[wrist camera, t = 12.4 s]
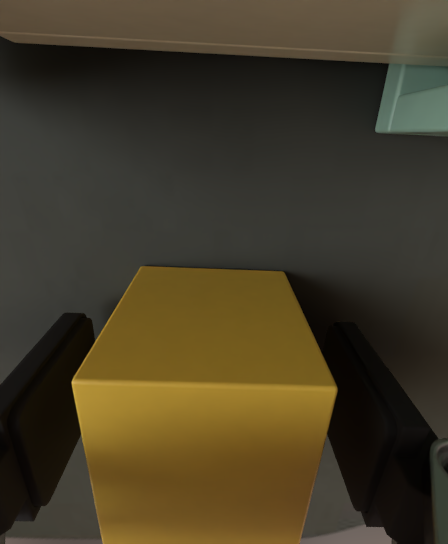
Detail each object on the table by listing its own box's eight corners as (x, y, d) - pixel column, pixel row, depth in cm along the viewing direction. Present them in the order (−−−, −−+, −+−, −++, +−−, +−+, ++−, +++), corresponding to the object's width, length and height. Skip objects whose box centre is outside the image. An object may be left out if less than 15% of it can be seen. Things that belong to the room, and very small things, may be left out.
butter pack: (149, 398, 12) (104, 563, 7) (140, 264, 10) (68, 381, 5) (267, 401, 12) (295, 565, 7) (284, 270, 10) (340, 388, 5)
